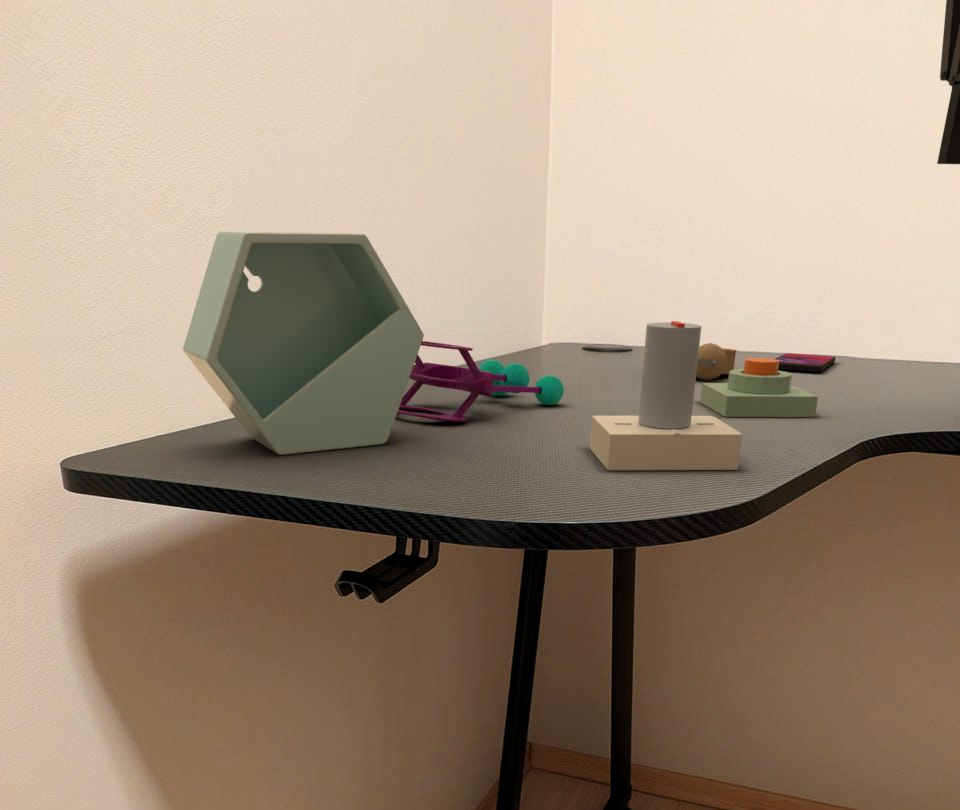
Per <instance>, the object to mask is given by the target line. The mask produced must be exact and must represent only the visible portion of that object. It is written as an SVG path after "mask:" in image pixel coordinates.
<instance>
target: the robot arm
mask: <svg viewBox="0 0 960 810" xmlns="http://www.w3.org/2000/svg"><path fill="white" fill-rule="evenodd" d="M943 24H944V25H943V36H942V48H941V58H940V60H941V61H940V71H939V79H940V81H941V82H943V81H945V82H947V83H948V86H950V87H951V92H950V96H949V101H948V107H947V112H946V117H945V123H944V126H943V132H942V137H941V140H940V141H941V143H940V147H939V152H938V157H937V161H936V162H937V165H960V0H945V13H944V23H943Z"/></svg>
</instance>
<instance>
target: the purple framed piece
mask: <svg viewBox="0 0 960 810" xmlns="http://www.w3.org/2000/svg"><path fill="white" fill-rule="evenodd" d="M421 346H423V347H431V348H439V349H448V350H457V351H458V352H459V354H460V355H461V358H462V359H463V361H464V362H465V364H466V366H467V367H463V366H462V367H461V366H456V365H449V364H441V363H434V362H426V361H425V362H424V361H423V360H422V359H421V357H420V356H419V353H418V354H417V357H416V360H415V363H414V366H413V369H412V372H411V375H410V377H409V380H411V381H412V380H413V381H415V382H414V383H413V384H412V385H411V386H410V388H409V389H408V390H407V391H406V392H405V393H404V395H403V398H402V400H401V403H400V406H399V409H398V412H397V414H401V415H407V416H412V417H416V418H417V417H418V418H422V419H423V418H424V419H431V420H437V421H445V422H456V423H457V422H460V423H461V422H463V423H464V422H466V421H467V418H466V417H465V416H464V415H465V414H466V413H467V411H468V410H469V409H470V408H471V406H472V405H473V404H474V403H475V401H476V400H477V399H478V398H479V396H485V397H490V398H492V396H498V397H503V396H506V395H508V394H509V393H512V394H519V393H532V394H533V393H534V396H535V398H536V399H537V401H538V402H539V403H540V404H542V405H544V406H545V405H546V406H553V405H556V404H558V403H559V402H560V401H561V399H562V398H563V396H564V393H565V388H564V385H563V382H562V381H561V379H560V378H559V377H556V376H554V375H543V376H542V377H540V378H539V379H538V380H537V382H536V384H535V386H528V385H529V383H530V378H531V377H530V373H529V370H528V369H527V367H525V366H524V365H523V364H521V363H514V362H513V363H508V364H507V365H505V366H504V365H503V363H502V362H501V361H498V360H495V359H488V360H484V361H483V362H482V363H481V364H480V365H479V367H478V366H477V363H476V362H475V360H474V359H473V356H472V355H471V353H470V352H472V351H473V347H468V346H463V345H455V344H449V343H442V342H435V341H426V340H422V343H421ZM423 385H427V386H432V387H437V388H443V389H451V390H457V391H464V392H467V393H470V394H468V396H467V397H466V399H465V400H464V401H463V402H462V404H461V405H460V406H459V407H458V409H457V410H456V411H455V412H454V413H452V412H448V411H443V410H440V409H434V408H428V407H424V406H423V407H422V406H416V405H411V404H409V402H410V401H411V399H412V398H413V397H414V396H415V395H416V394H417V392H418V391H419V390H420V389H421V388H422V386H423ZM406 410H415V411H416V410H417V411H423V412H430V413H435V414H427V413H419V412H412V411H406Z"/></svg>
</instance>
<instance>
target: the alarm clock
mask: <svg viewBox="0 0 960 810" xmlns="http://www.w3.org/2000/svg"><path fill="white" fill-rule="evenodd" d="M737 351H738V350H737V349H733V348H722V347H721V346H720V345H718V344H716V343H712V342H710V343H704V344H702V345H699V353H698V363H697V372H696V378H698V379H699V380H703V381H711V380H712V381H713V380H715V379H716V378H718V377H720V376H721V375H729V372H730V371H731V370H734V369H735V363H736V362H735V361H736V354H737Z"/></svg>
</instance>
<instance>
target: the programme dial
mask: <svg viewBox="0 0 960 810" xmlns="http://www.w3.org/2000/svg"><path fill="white" fill-rule="evenodd" d="M701 334H702V325H700V324H695V323H686V322H682V321H678V320H671V321H670V322H650V323H647V324H646V330H645V339H644V340H645V341H644V351H643V362H642V363H643V364H642V374H641V384H640V385H641V386H640V396H639V397H640V399H639V409H638V410H639V411H638V416H639V420H638V422H639V424H641V425H643V426H647V427H653V428H662V429H679V428H686V427H689V426H690V425H691V417H692V416H693V409H694V408H693V407H694V397H695V389H696V381H697V376H696V372H697V363H698V353H699V347H700V345H701V344H700V342H701V336H702V335H701Z"/></svg>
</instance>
